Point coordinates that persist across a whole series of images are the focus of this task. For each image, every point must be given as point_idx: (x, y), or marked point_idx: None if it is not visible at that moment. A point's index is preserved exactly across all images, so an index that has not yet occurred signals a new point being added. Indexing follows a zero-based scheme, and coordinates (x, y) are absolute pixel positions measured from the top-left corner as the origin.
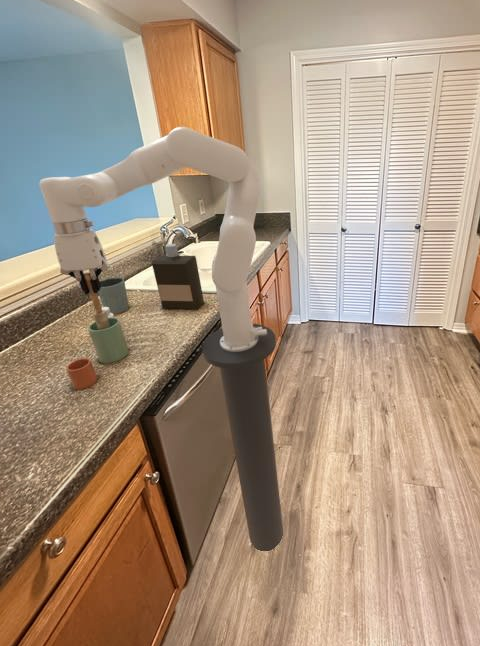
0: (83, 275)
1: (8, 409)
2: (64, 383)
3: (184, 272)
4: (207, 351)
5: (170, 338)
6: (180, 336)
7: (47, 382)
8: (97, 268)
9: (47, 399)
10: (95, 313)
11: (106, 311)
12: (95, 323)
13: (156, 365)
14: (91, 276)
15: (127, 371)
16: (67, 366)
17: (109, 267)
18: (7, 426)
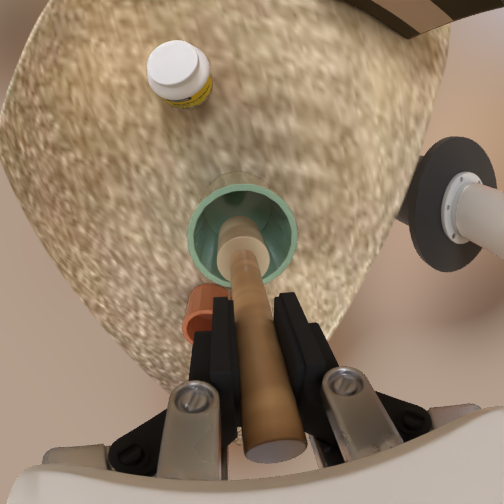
0: (219, 420)
1: (113, 337)
2: (165, 295)
3: (477, 4)
4: (421, 223)
5: (368, 166)
6: (389, 165)
7: (127, 283)
8: (393, 430)
9: (161, 331)
10: (230, 271)
11: (192, 75)
12: (200, 214)
13: (345, 276)
14: (317, 447)
15: (289, 284)
16: (184, 332)
17: (472, 409)
18: (142, 368)
